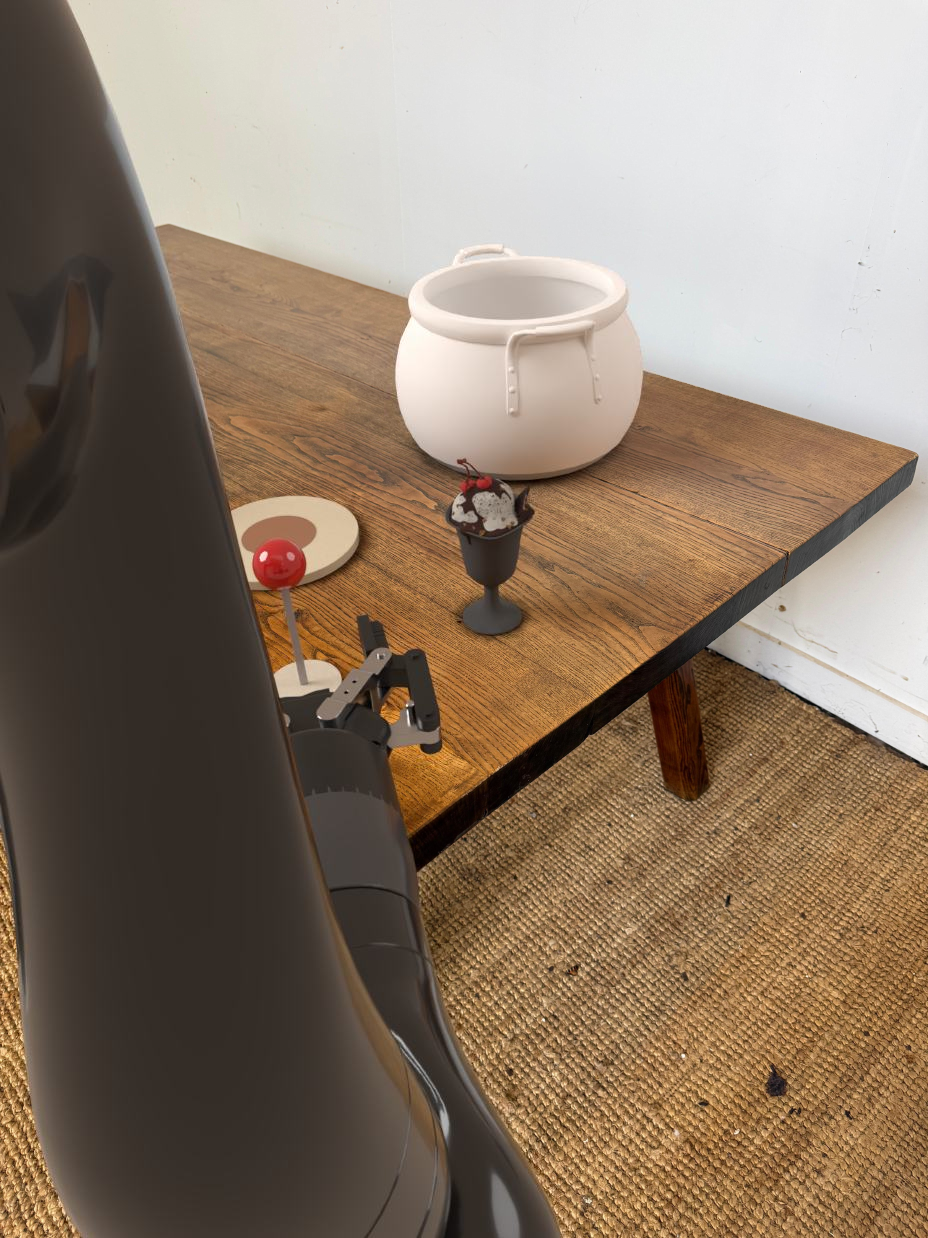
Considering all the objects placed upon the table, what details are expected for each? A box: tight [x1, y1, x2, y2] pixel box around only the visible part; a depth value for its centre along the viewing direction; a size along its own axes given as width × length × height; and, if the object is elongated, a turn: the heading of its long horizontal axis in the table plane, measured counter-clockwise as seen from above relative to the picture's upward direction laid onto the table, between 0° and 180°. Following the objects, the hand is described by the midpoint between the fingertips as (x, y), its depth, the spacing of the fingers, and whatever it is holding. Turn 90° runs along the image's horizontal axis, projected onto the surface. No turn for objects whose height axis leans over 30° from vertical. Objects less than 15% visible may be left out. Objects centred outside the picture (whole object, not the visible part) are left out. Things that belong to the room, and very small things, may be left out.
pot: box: [394, 243, 644, 481], centre depth 94 cm, size 29×26×17 cm
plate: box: [231, 495, 360, 591], centre depth 83 cm, size 15×15×1 cm
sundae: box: [444, 458, 536, 636], centre depth 69 cm, size 7×7×15 cm
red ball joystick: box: [252, 538, 343, 698], centre depth 62 cm, size 6×6×14 cm
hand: (292, 639), depth 53 cm, fingers open, 8 cm apart
